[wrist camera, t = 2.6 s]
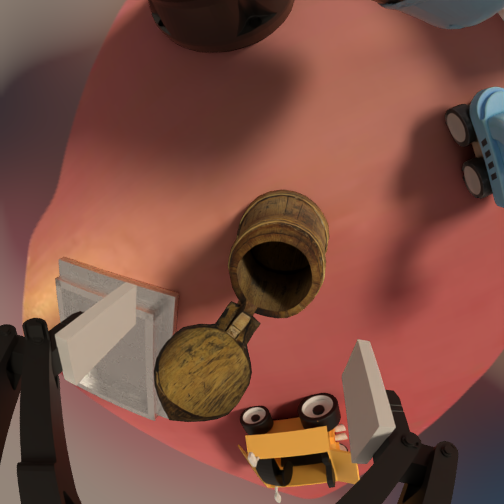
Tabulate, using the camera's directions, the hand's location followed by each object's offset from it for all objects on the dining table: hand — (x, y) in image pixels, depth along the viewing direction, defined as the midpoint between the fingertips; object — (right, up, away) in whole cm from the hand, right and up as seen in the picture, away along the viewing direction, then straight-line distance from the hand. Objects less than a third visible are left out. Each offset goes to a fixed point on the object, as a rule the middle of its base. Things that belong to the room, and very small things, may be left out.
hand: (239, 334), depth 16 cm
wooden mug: (+2, +5, +14) cm, 15 cm away
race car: (+8, -21, +21) cm, 31 cm away
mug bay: (-18, -8, +21) cm, 29 cm away
